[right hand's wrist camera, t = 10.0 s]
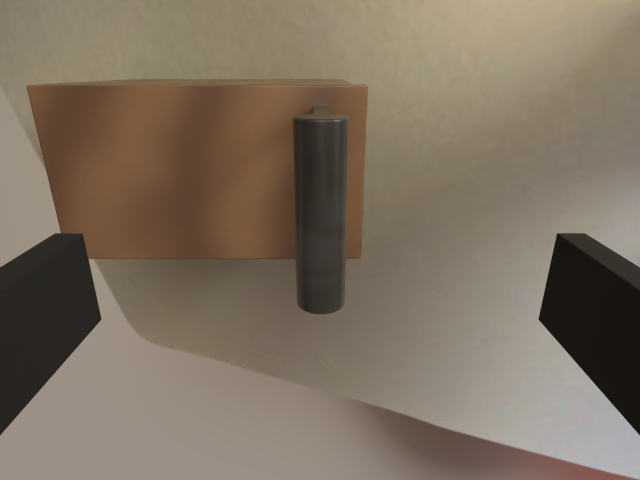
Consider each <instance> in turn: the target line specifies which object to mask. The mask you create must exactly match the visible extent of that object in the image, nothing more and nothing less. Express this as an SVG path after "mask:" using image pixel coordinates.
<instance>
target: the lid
mask: <svg viewBox="0 0 640 480" xmlns="http://www.w3.org/2000/svg"><path fill="white" fill-rule="evenodd" d="M367 89H368V87H367V85H28V86H27V90H28V94H29V99H30V103H31V107H32V111H33V116H34V120H35V124H36V128H37V133H38V137H39V141H40V145H41V150H42V154H43V158H44V162H45V167H46V171H47V175H48V179H49V184H50V188H51V192H52V196H53V201H54V205H55V209H56V213H57V218H58V222H59V226H60V230H61V233H83V237H84V241H85V246H86V250H87V255H88V259H296V273H297V303H298V305H299V307H300V308H301V309H302V310H304V311H306V312H309V313H313V314H328V313H333V312H335V311H338V310H339V309H340V308H342V306H343V305H344V296H345V259H360V258H361V246H362V220H363V194H364V167H365V141H366V115H367Z"/></svg>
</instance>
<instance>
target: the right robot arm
mask: <svg viewBox="0 0 640 480" xmlns="http://www.w3.org/2000/svg"><path fill="white" fill-rule="evenodd" d="M100 320H101V315H100V311H99V306H98V301H97V297H96V292H95V288H94V283H93V278H92V274H91V269H90V264H89V260H88V255H87V250H86V246H85V241H84V237H83V233H59V234H58V233H57V234H54V235H52V236H50V237H49V238H47V239H45V240H44V241H42V242H41V243H39V244H37V245H36V246H34V247H33V248H31V249H29V250H28V251H26V252H25V253H23V254H21V255H20V256H18V257H16V258H15V259H13V260H12V261H10V262H8V263H7V264H5V265H4V266H2V267H0V435H1V434H2V433H3V431H4V430H5V429H6V428H7V427H8V426H9V425H10V423H11V422H12V421H13V420H14V419H15V418H16V417H17V415H18V414H19V413H20V412H21V411H22V410H23V409H24V407H25V406H26V405H27V404H28V403H29V402H30V401H31V399H32V398H33V397H34V396H35V395H36V394H37V393H38V391H39V390H40V389H41V388H42V387H43V386H44V385H45V383H46V382H47V381H48V380H49V379H50V378H51V377H52V375H53V374H54V373H55V372H56V371H57V370H58V368H59V367H60V366H61V365H62V364H63V363H64V362H65V360H66V359H67V358H68V357H69V356H70V355H71V354H72V352H73V351H74V350H75V349H76V348H77V347H78V346H79V344H80V343H81V342H82V341H83V340H84V339H85V338H86V336H87V335H88V334H89V333H90V332H91V331H92V330H93V328H94V327H95V326H96V325H97V324H98V323H99V322H100ZM539 320H540V322H541V323H542V324H543V325H544V326H545V327H546V328H547V330H548V331H549V332H550V333H551V334H552V335H553V336H554V338H555V339H556V340H557V341H558V342H559V343H560V344H561V346H562V347H563V348H564V349H565V350H566V351H567V352H568V354H569V355H570V356H571V357H572V358H573V359H574V360H575V362H576V363H577V364H578V365H579V366H580V367H581V368H582V370H583V371H584V372H585V373H586V374H587V375H588V377H589V378H590V379H591V380H592V381H593V382H594V383H595V385H596V386H597V387H598V388H599V389H600V390H601V391H602V393H603V394H604V395H605V396H606V397H607V398H608V399H609V401H610V402H611V403H612V404H613V405H614V406H615V407H616V409H617V410H618V411H619V412H620V413H621V414H622V415H623V417H624V418H625V419H626V420H627V421H628V422H629V423H630V425H631V426H632V427H633V428H634V429H635V430H636V431H637V433H638V434H639V435H640V267H638V266H636V265H635V264H633V263H632V262H630V261H628V260H627V259H625V258H624V257H622V256H620V255H619V254H617V253H615V252H614V251H612V250H611V249H609V248H607V247H606V246H604V245H603V244H601V243H599V242H598V241H596V240H595V239H593V238H591V237H590V236H588V235H586V234H585V233H557V237H556V241H555V246H554V250H553V255H552V260H551V264H550V269H549V274H548V278H547V283H546V288H545V292H544V297H543V301H542V306H541V311H540V315H539Z"/></svg>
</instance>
